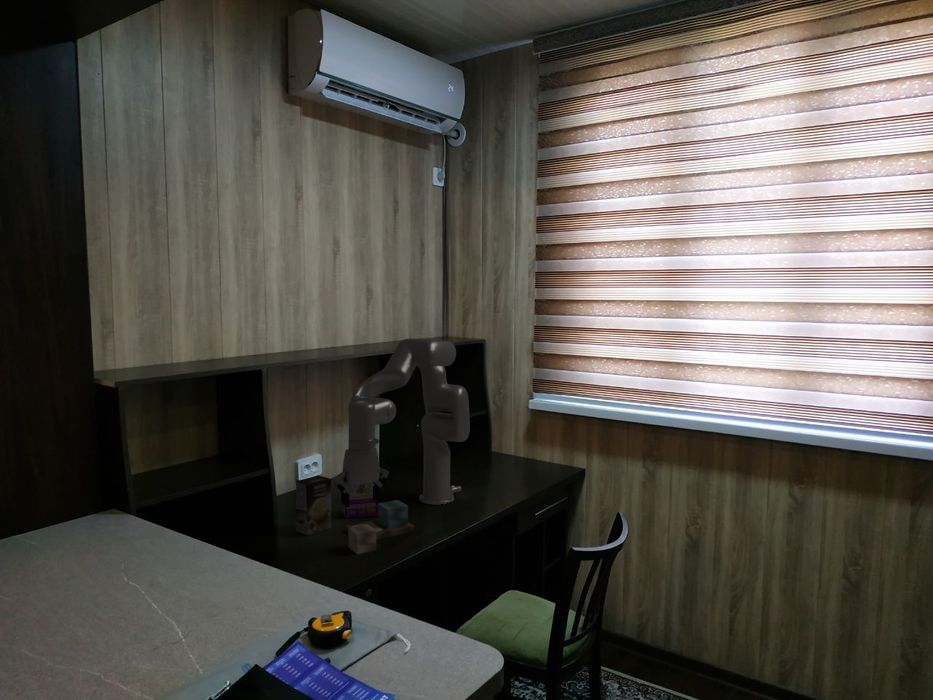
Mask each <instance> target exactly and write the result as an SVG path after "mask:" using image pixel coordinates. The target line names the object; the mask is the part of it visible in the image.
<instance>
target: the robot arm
mask: <svg viewBox="0 0 933 700" xmlns="http://www.w3.org/2000/svg"><path fill="white" fill-rule="evenodd" d="M456 357H457V349H456V346H455V345H454V343H453V342H452V341H450V340H443V339H442V340H439V339H438V340H437V339H427V338H426V339H425V338H424V339H423V338H405V339H403V340H401V341H400V342H399V343H398V345H397V346H396V348H395V349H394V351H393V353H392V354H391V356H390V357H389V359H388V361H387V363H386V364H385V367H384V368H383V369H382V370H380V371H378V372H376V373H375V374H373V375H371V376H370V377H368V378H367V379H365V380H364V381H362V382H361V383H360V384H359V385H358V387H357V389H356V390H355V392H354V393H353V395H352V397H351V399H350V401H349V403H348V409H347V413H348V445H347V446H348V448H346V449H345V451H344V455H343V456H344V457H343V461H342V471H341V472H339V473H338V474H337V475H335V476H334V477H332V482H333V484H334V486H335V487H336V488H337V489H338V490H339V491H340V492H341V499H340V501H341V504H342V505H343V507H344V506H346V507H349V493H348V491H349V489H350V488H351V486H356V485H362V484H369V483H374V484H375V486H373V499H374V500H376V501H377V502H378V503H379V502H380V501H381V500H380V499H381V496H382V495H381V493H382V490H381V489H382V488H383V485H384V484H385V482H386V481H387V478H388V476H389V475H390V474H389V473H390V471H389V470H387V469H385V468H382V467H380V459H379V452H378V448H377V447H376V445H377V444H379V443H380V439H379V438H376V426H377V425H386V424H389V423H391V422H392V421H393V420H394V419H395V417H396V415H397V407H396V404H395V403H394V402H393V401H392V400H390V399H389V398H383V397H381V398H380V397H377V396H379V395H381V394H384V393H387V392H392V391H395V390H397V389H398V390H399V389H400V388H402V387H404V386H406V385H407V383H409V381H410V378H411V377H412V374H414V371H415V369H416V368H419V371H420V375H421V384H422V385H421V386H422V396H423V397H422V398H423V404H424V406H425V408H426V409H427V410H430V411H433V412H427V413H426V414H425V415H424V416H423V417H422V419H421V421H420V429H421V435H422V441H423V492H422V493H421V494H420V495H418V500H419V502H421V503H422V504H426V505H430V504H431V506H442V505H441V504H443V505H448V504H450V502H451V503H453V502H454V500H455V495H454V493H459V492H461V491H462V487H461V485H457V486H454V485H451V449H450V447H449V445H448V443H447V442H456V443H462V442H465V441H467V439H468V438H469V435H470V431H471V430H470V429H471V420H470V403H469V402H470V401H469V394H468V392H467V389H466V388H465V387H464V386H462V385H460V384H459V385H458V384H449V383H448V381H447V375H446V373H447V372H446V368H445V367H450V366H451V365H452V364H453V363H454V362H455V360H456ZM434 411H436V412H434ZM437 411H439V412H437ZM446 412H447V413H446ZM380 473H381V475H380ZM341 480H342V484H341ZM343 482H344V483H343ZM447 503H448V504H447Z"/></svg>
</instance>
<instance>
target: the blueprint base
mask: <svg viewBox="0 0 933 700" xmlns="http://www.w3.org/2000/svg"><path fill="white" fill-rule="evenodd" d="M365 524H368V525H369V526H371V527H372V528H374V529H375V530H376V540H379V539H380V540H381V539H384V538H385V539H386V538H388V537H393V536H397V535H401V534H407V533H411V532H414V531H415V529H416V528H415V525H414V524H412V523H410V522H409V506H408V504H406V503H404V502H402V501H400V500H398V499H395V500H390V501H385V502H380V503H379V502H378V516H377V518H375V519H371V520H367V521H362V522H358V523H357V522H356V523H352V524H351V523H350V524H348V525H345V526H344V527H345V531H346V532H347V533H348V528H351V527H355V526H360V525H365Z"/></svg>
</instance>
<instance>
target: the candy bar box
mask: <svg viewBox="0 0 933 700" xmlns="http://www.w3.org/2000/svg"><path fill="white" fill-rule="evenodd" d="M343 483H344V482H343V481H342V484H343ZM373 486H375V484H374V483H369V484H362V485H356V486H351V488H350V489H349V491H348V493H349V507H346V506H344V505H343V516H344V519H345V520H347V519H360V518H369V517H378V504H379V502H377V501H376V500H374V499H373Z"/></svg>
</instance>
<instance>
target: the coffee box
mask: <svg viewBox="0 0 933 700" xmlns="http://www.w3.org/2000/svg"><path fill="white" fill-rule="evenodd" d="M331 528H332V478H329V477H327V476H322V475H314V476H312V477H307V478H303V479H297V480H295V531H296V532H297V533H300V534H303V535H306V536H310V535H314V534H317V533H321V532H323V531H326V530H329V529H331Z"/></svg>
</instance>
